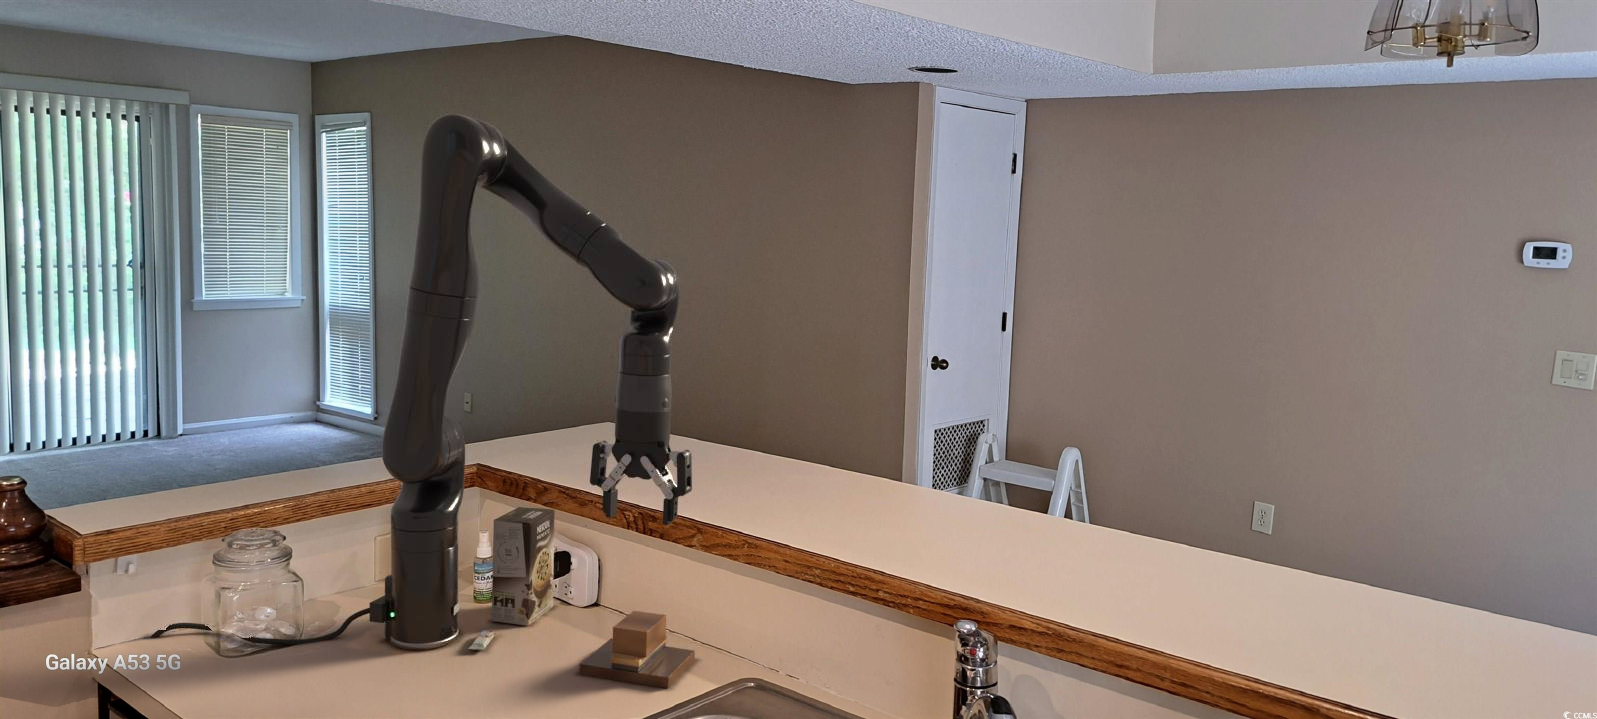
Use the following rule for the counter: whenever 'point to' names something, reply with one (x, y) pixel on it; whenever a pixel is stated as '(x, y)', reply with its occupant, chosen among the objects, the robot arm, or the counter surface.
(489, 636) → the granola bar
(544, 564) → the coffee box
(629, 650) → the stepped wooden block
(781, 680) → the counter surface
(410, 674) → the counter surface
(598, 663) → the board
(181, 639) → the counter surface
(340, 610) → the counter surface
